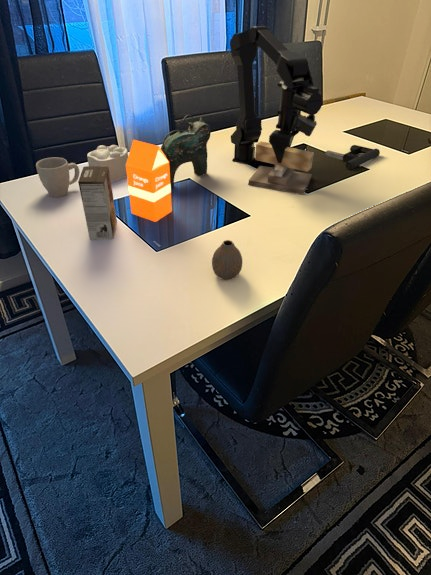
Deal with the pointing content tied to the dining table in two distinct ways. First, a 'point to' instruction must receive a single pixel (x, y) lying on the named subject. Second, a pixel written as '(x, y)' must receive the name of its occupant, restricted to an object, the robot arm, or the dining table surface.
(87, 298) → the dining table surface
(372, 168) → the dining table surface
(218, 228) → the dining table surface
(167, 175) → the orange juice
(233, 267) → the vase
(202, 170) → the dark green animal statue
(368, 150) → the door handle
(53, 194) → the mug
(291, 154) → the oak beam
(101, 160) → the lumpy-topped squat cylinder
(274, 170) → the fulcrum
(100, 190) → the coffee box
